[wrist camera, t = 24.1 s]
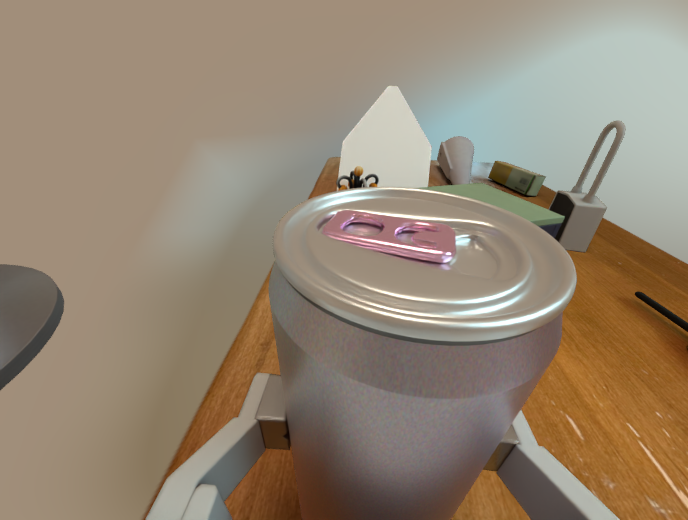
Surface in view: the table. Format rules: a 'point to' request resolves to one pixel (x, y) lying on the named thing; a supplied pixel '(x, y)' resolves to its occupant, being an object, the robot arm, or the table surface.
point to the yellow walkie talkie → (663, 310)
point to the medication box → (516, 178)
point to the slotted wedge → (388, 145)
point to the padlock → (585, 198)
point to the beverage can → (408, 343)
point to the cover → (503, 202)
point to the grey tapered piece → (456, 159)
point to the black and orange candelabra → (356, 179)
